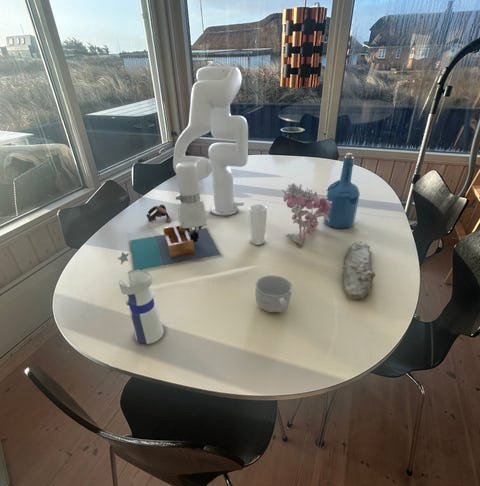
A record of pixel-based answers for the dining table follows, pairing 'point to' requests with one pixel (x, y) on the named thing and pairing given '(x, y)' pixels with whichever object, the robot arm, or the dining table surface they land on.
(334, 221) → the wine bottle
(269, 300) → the teacup
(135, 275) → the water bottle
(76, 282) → the dining table surface
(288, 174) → the dining table surface
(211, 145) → the robot arm
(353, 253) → the long grey stone
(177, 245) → the rack
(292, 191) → the flower
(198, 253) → the mat
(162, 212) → the pottery mug
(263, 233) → the drinking glass
